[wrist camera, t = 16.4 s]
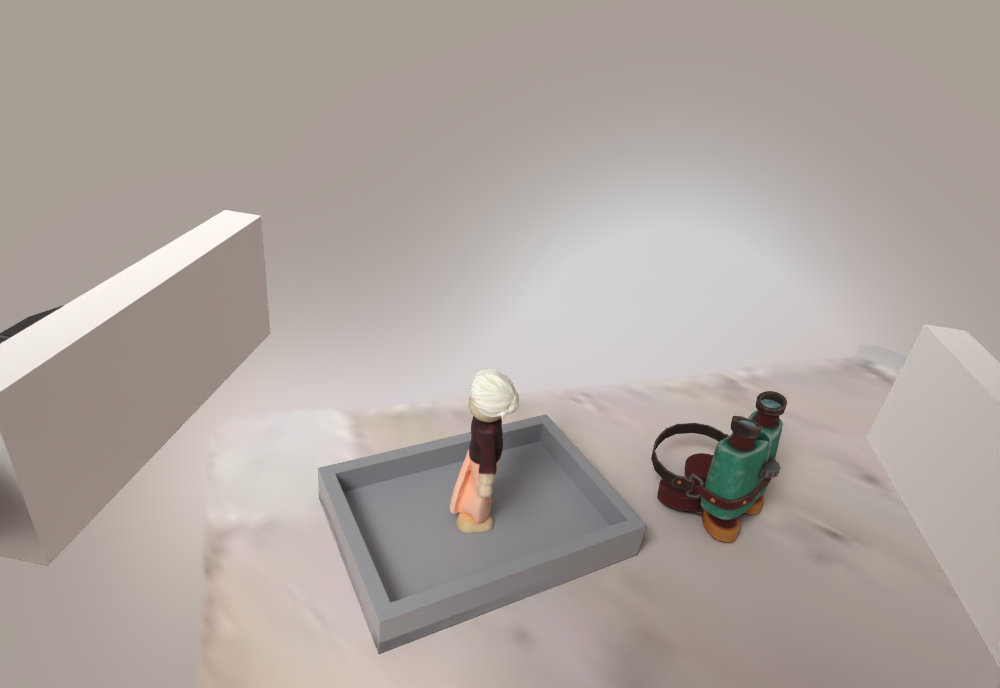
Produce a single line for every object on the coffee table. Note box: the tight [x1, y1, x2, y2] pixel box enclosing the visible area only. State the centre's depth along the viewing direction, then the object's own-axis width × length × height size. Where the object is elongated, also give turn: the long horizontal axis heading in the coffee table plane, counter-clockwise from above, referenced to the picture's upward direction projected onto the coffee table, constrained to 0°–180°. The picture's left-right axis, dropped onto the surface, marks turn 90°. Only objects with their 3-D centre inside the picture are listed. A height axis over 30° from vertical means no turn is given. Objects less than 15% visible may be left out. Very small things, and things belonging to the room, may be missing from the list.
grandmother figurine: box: [450, 369, 519, 533], centre depth 44 cm, size 8×4×13 cm, turn 11°
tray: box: [318, 415, 647, 654], centre depth 47 cm, size 20×14×3 cm
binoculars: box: [651, 391, 787, 542], centre depth 51 cm, size 9×11×10 cm
